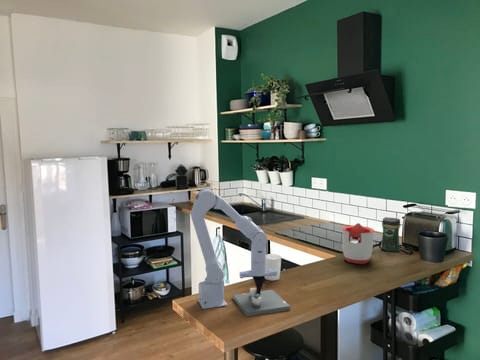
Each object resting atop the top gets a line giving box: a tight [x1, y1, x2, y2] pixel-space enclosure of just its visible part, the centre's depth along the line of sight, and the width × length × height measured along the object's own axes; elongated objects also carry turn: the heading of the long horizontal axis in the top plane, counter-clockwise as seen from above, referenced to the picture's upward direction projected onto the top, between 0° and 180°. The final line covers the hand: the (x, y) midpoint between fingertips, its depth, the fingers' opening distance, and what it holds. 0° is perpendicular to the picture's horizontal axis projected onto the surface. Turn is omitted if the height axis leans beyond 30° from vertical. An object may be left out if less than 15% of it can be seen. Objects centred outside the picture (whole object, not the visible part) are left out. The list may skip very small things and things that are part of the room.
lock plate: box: [232, 289, 291, 317], centre depth 149 cm, size 17×16×6 cm
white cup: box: [264, 253, 282, 281], centre depth 177 cm, size 8×8×10 cm
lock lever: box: [249, 287, 262, 308], centre depth 148 cm, size 12×4×3 cm, turn 6°
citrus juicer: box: [341, 222, 375, 265], centre depth 201 cm, size 16×17×20 cm
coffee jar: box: [380, 216, 401, 253], centre depth 222 cm, size 10×8×19 cm
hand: (258, 294), depth 152 cm, fingers closed
